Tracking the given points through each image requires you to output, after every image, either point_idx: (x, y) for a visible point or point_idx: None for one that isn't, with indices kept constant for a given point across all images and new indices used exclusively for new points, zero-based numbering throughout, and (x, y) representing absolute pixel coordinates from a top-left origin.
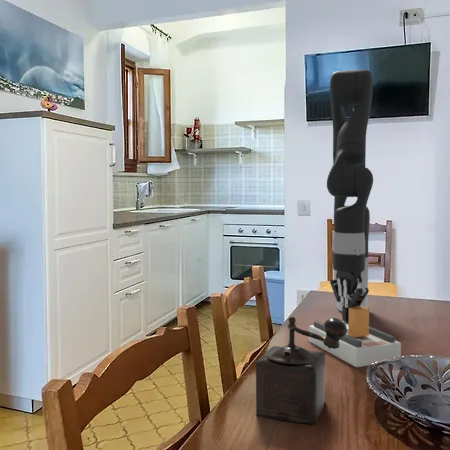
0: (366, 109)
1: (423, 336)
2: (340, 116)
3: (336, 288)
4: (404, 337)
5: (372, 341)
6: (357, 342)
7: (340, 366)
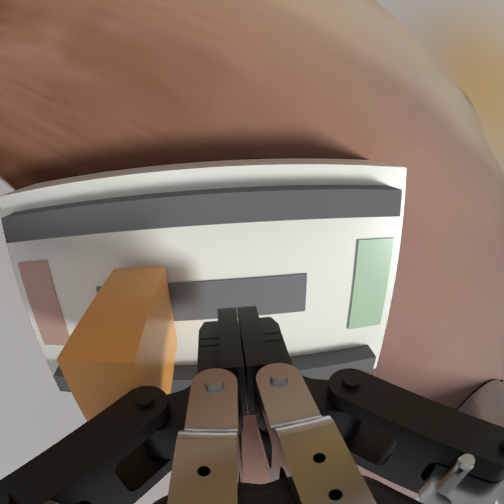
0: None
1: (249, 471)
2: None
3: (428, 447)
4: (260, 446)
5: (75, 317)
6: (1, 218)
7: (56, 132)
